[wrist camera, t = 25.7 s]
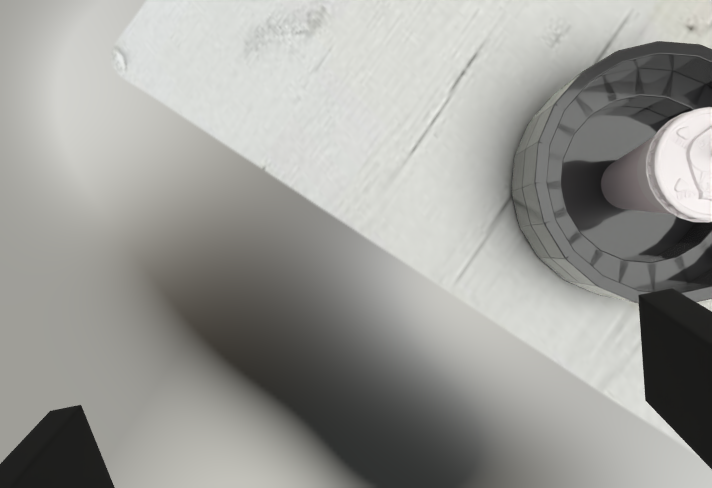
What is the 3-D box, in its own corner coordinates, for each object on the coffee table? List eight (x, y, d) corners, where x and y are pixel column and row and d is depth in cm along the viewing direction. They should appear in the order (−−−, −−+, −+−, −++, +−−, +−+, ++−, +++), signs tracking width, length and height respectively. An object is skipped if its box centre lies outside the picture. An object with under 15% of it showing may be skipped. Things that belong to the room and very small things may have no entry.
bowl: (538, 318, 39) (569, 331, 33) (487, 101, 40) (509, 75, 34) (758, 268, 39) (828, 272, 33) (706, 50, 39) (767, 15, 33)
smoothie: (677, 147, 39) (853, 92, 25) (663, 234, 39) (831, 227, 25) (589, 134, 39) (716, 71, 25) (575, 220, 39) (694, 206, 25)
